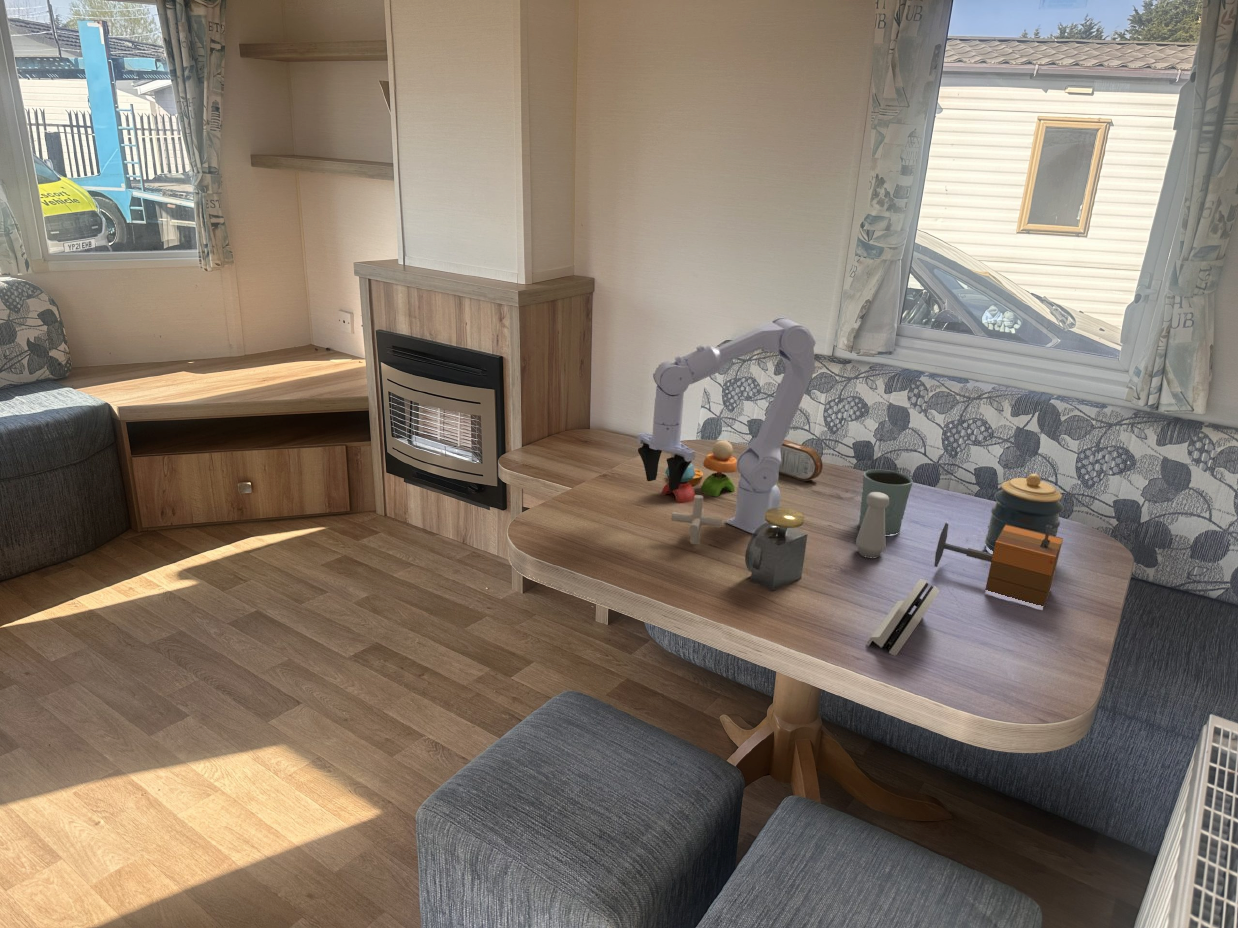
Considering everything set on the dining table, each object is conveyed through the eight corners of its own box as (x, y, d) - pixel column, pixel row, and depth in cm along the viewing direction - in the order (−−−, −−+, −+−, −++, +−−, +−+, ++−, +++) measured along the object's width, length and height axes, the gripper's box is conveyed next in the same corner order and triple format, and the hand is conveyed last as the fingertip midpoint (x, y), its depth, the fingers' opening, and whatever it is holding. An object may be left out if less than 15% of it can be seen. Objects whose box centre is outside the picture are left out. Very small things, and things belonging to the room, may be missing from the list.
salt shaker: (886, 552, 179) (896, 492, 175) (881, 562, 174) (892, 501, 170) (857, 545, 181) (866, 486, 177) (851, 555, 176) (861, 495, 172)
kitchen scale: (775, 564, 170) (783, 502, 166) (807, 578, 165) (816, 515, 161) (742, 578, 163) (750, 514, 159) (775, 594, 158) (783, 527, 154)
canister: (1059, 555, 183) (1079, 476, 177) (1038, 573, 173) (1058, 490, 168) (997, 536, 191) (1013, 459, 185) (973, 552, 182) (990, 472, 176)
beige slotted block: (893, 607, 156) (922, 564, 152) (917, 622, 155) (946, 580, 150) (864, 645, 143) (894, 600, 138) (890, 663, 141) (921, 618, 136)
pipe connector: (716, 556, 172) (721, 508, 169) (666, 549, 174) (670, 502, 171) (721, 536, 182) (726, 491, 178) (673, 529, 183) (677, 485, 180)
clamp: (942, 561, 177) (955, 494, 172) (1050, 590, 167) (1067, 520, 162) (929, 579, 168) (943, 510, 163) (1042, 611, 158) (1060, 539, 154)
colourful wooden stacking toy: (689, 472, 219) (693, 424, 215) (742, 493, 207) (747, 442, 203) (636, 486, 207) (639, 435, 203) (689, 509, 195) (694, 456, 191)
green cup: (852, 531, 188) (860, 479, 184) (858, 516, 197) (866, 465, 193) (901, 541, 185) (910, 488, 181) (905, 525, 194) (914, 473, 190)
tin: (820, 483, 217) (825, 450, 214) (814, 485, 215) (818, 453, 212) (770, 466, 226) (773, 435, 224) (763, 469, 224) (766, 437, 221)
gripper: (628, 416, 179) (624, 478, 184) (680, 433, 170) (674, 499, 174) (652, 411, 184) (647, 471, 188) (704, 428, 174) (698, 492, 179)
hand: (662, 484), depth 182 cm, fingers open, 6 cm apart
